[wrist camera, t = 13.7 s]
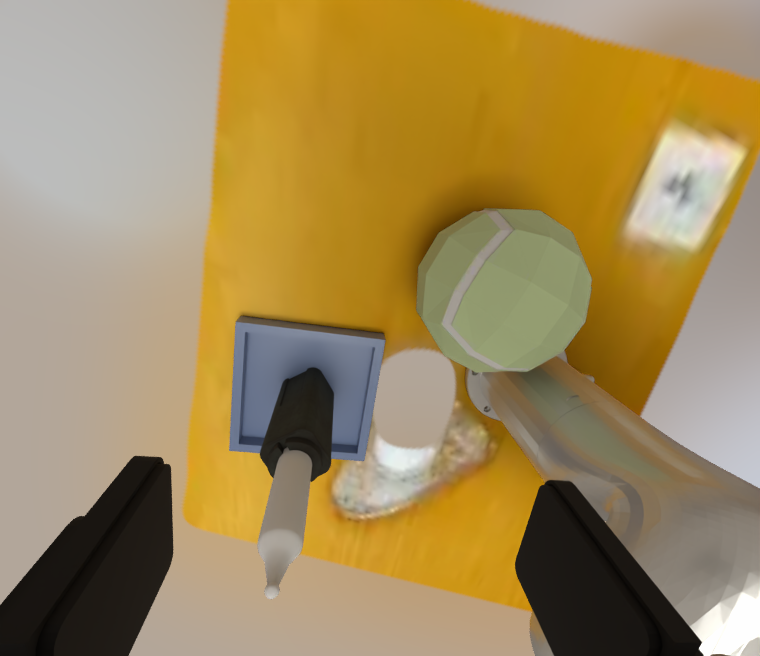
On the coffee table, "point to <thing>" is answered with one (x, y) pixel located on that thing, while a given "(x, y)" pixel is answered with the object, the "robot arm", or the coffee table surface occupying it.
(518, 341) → the decorative sphere
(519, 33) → the coffee table surface
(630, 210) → the coffee table surface
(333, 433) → the slate blue tray
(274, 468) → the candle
